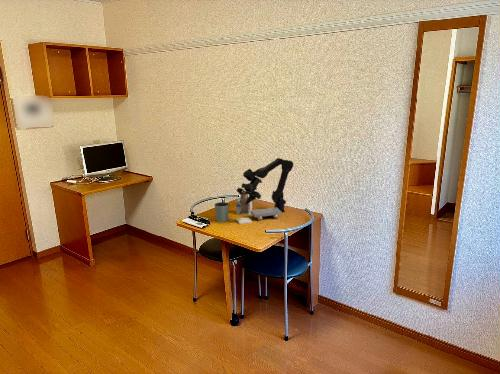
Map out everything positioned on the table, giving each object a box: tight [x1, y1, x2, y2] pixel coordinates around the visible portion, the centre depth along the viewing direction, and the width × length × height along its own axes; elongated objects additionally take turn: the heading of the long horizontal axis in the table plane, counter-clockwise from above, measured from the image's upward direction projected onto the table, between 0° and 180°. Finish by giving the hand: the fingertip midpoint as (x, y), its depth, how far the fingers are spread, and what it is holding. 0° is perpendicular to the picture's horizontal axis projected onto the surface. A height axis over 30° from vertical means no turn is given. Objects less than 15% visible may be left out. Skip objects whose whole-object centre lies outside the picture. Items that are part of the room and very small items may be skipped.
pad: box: [235, 216, 253, 225], centre depth 269 cm, size 9×9×1 cm
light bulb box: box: [235, 197, 253, 216], centre depth 286 cm, size 11×7×11 cm, turn 76°
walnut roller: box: [240, 194, 249, 215], centre depth 265 cm, size 5×5×13 cm
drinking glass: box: [214, 201, 230, 223], centre depth 271 cm, size 10×10×12 cm
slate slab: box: [250, 207, 283, 222], centre depth 276 cm, size 20×11×5 cm, turn 106°
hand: (243, 203), depth 264 cm, fingers closed on walnut roller, 5 cm apart
